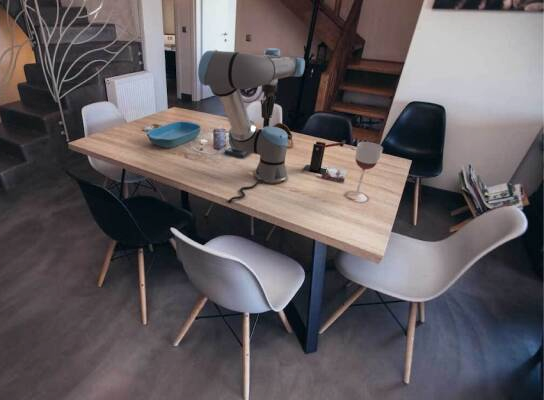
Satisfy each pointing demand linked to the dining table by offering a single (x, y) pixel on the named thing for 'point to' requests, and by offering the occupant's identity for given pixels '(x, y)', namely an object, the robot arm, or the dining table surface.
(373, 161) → the wineglass
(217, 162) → the dining table surface
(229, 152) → the button box
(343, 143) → the lever
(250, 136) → the robot arm
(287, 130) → the sword hilt
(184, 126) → the casserole dish
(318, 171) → the bracket
